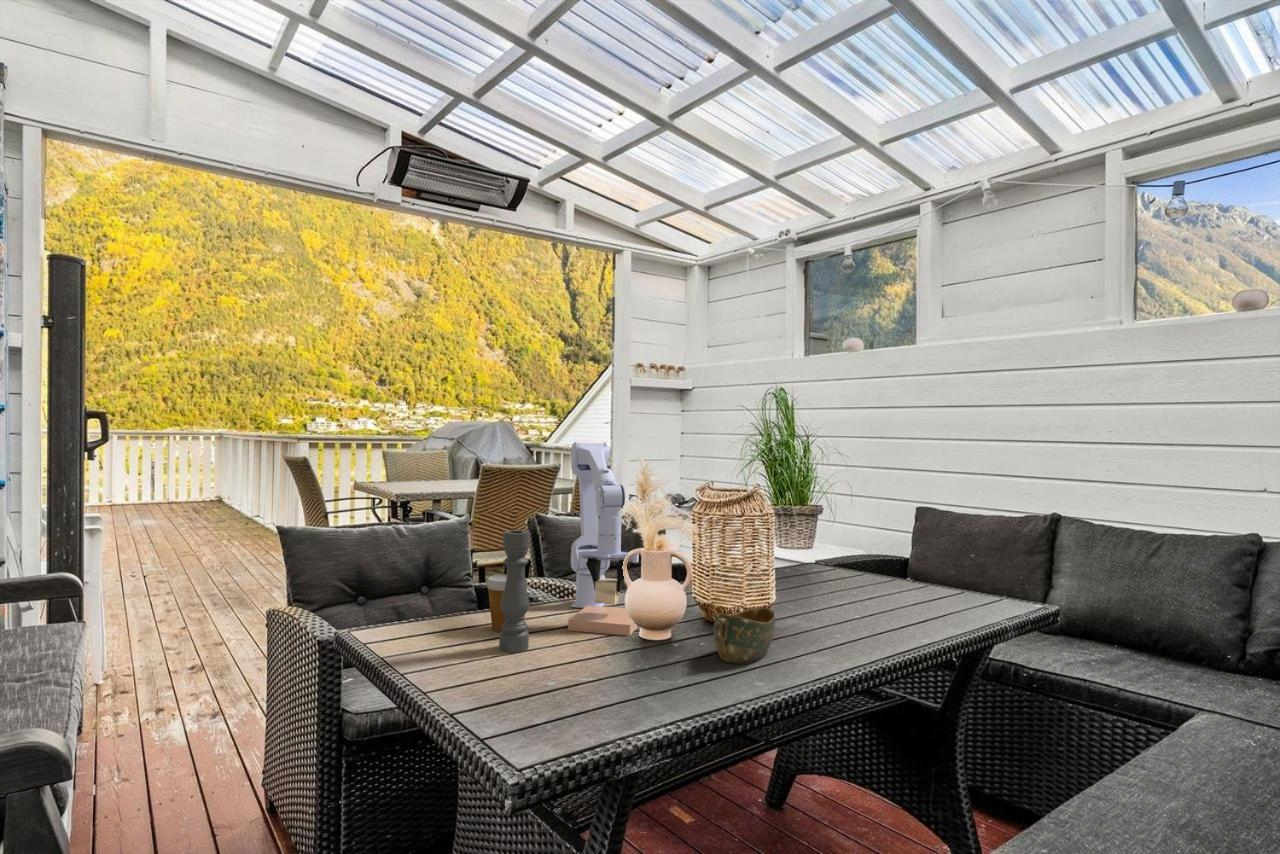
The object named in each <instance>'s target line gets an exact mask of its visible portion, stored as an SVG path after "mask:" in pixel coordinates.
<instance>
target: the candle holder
mask: <svg viewBox="0 0 1280 854" xmlns="http://www.w3.org/2000/svg"><path fill="white" fill-rule="evenodd" d="M530 542H531V531H528V530H522V529H521V530H517V529H515V530H505V531H503V533H502V547H503V548H504V550H503V551H504V553H505V555H506V558H505V559H504V560H503V564H504V565H505V567H506V574H507V579H506V584H505V588H504V592H503V596H502V600H501V605H500V607H501V610H502V612H503V613H504V615H505V616H504V618H505V619H506V620H505V621H504V623H503V624H502V625H501V629H502V630H503V631H501V632H499V641H498V643H499V645H498V646H499V648H498V649H499V650H500V651H501V652H503V653H509V654H510V653H512V654H513V653H514V654H515V653H516V654H517V653H522V652H525V651H528V649H529V643H530V642H529V639H530V638H529V637H530V633H529V631H528V627H529V626H528V624H527V622H526V620H525V618H526V613H527V612H528V611H529V608H530V598H529V594H528V591H527V585H526V584H525V580H526V577H525V576H526V566H527V565H528V563H529V559H528V558H526V556H527V553H528V552H529V548H530V545H531V543H530Z"/></svg>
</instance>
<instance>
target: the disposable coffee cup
mask: <svg viewBox="0 0 1280 854" xmlns="http://www.w3.org/2000/svg"><path fill="white" fill-rule="evenodd" d="M506 579H507V573H506V574H502V573H501V574H495V575H491V576H489V577H488V578H487V581H486V582H485V585H486V588H487V589H488V599H489V609H490V619H491V621H490V622H491V630H492V631H494V632H499V633H500V632H501V631H503V630H502V629H501V625H502V624H503V623H504V621H505V620H506V619H505V618H504V616H505V615H504V613H503V612H502V610H501V607H500V605H501V600H502V596H503V592H504V588H505V584H506ZM525 584H526V586H527V585H528V582H527V581H526V579H525Z"/></svg>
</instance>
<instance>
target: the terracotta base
mask: <svg viewBox="0 0 1280 854" xmlns="http://www.w3.org/2000/svg"><path fill="white" fill-rule="evenodd" d="M626 608H627V607H625V608H624V607H612V606H603V607H602V606H589V605H587V606H586V607H584V608H581V609H580V610H579V611H578V612H576V613H575V614H574V615H573V616H571V617H569V619H568V623H567V624H568V625H567V630H568V631H574V632H581V633H594V634H606V635H615V636H616V635H617V636H628V637H630V636H631V635H632V634H633V633H634V632H635V631H636V629H638V627H637V625H636V624H635V623H634V621H633V620H632V619H631V618H630V617H629V615H628V613H627V611H626Z"/></svg>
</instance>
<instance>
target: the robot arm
mask: <svg viewBox="0 0 1280 854" xmlns="http://www.w3.org/2000/svg"><path fill="white" fill-rule="evenodd" d="M610 454H611V453H610V446H609V444H608V443H607V442H577V441H574V442H573V443H572V444H571V449H570V467H571V468H570V469H571V473H572V474H573V475H574V476H576V477H577V481H578V484H579V485H578V486H579V487H578V489H579V491H578V492H579V511H580V516H579V517H580V536H579V537H578V538H577V539H576V540H574V541H573V542H572V545H571V547H570V548H571V552H570V566H571V569H572V570H573V572H575V573H576V576H575V577H576V581H575V583H576V584H575V585H576V586H575V588H576V589H575V602H573V603H572V604H571V605H570V607H571V608H578V609H583V608H584V607H586V606H587V605H589V606H602V607H605V605H606V604H603V603H595V582H596V581H598V580H599V579H600V578H606V576H605V573H606V571H607V570H609V568H610V564H611V562H617V563H616V579H617V592H620V593H621V592H622V590H623V585H624V581H625V578H624V576H623V569H622V566H623V561H624V559H625V557H626V556H627V555H628V554H629V553H630V552H626V551H621V550H622V547H621V546H622V545H621V544H622V514H621V512H620V511H621V509H624V507H625V504H626V490H625V488H624V485H623V484H620V483H618V481H617V479H616V477H615V475H614V472H613V471H612V469H610V468H608V467H607V466H608V463H609V462H610V456H611V455H610ZM623 506H624V507H623ZM619 512H620V514H619ZM617 518H618V520H619V521H618V522H617ZM636 554H637V555H634V556H632V557H631V558H630V560H629V562H628V564H627V571H628V570H629V568H630V566H631V564H632V563H633V564H637V563H639V562H640V561H639V558H640V557H639V553H636Z"/></svg>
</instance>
